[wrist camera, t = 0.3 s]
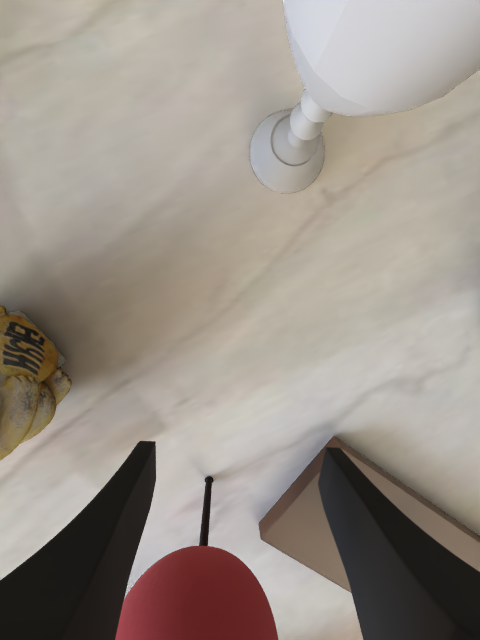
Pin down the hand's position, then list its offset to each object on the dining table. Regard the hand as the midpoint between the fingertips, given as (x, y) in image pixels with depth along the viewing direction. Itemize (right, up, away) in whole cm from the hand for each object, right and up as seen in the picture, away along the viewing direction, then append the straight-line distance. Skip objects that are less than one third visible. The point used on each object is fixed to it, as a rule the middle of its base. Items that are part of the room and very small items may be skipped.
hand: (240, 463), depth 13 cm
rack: (+12, -13, +14) cm, 23 cm away
